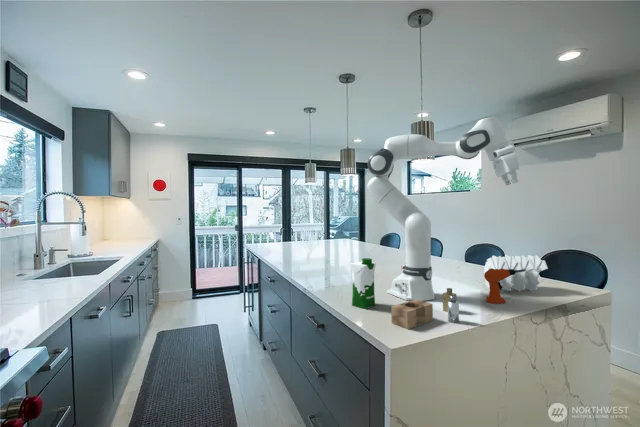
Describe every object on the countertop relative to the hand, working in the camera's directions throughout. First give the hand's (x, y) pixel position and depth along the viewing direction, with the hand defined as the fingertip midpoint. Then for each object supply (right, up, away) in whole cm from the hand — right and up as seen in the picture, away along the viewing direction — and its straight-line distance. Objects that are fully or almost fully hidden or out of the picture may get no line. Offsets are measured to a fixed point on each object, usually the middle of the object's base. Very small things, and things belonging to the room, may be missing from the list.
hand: (511, 184), depth 124 cm
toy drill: (0, -51, +5) cm, 51 cm away
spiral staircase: (+14, -50, +22) cm, 57 cm away
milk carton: (-62, -52, +2) cm, 80 cm away
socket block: (-47, -51, -17) cm, 72 cm away
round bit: (-32, -51, -17) cm, 63 cm away
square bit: (-29, -51, -6) cm, 59 cm away
